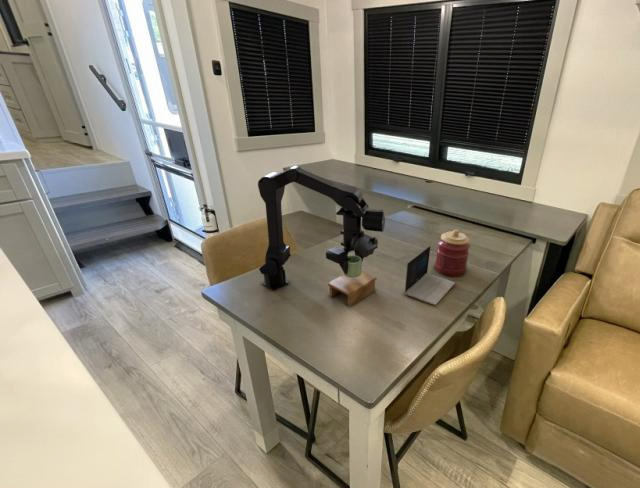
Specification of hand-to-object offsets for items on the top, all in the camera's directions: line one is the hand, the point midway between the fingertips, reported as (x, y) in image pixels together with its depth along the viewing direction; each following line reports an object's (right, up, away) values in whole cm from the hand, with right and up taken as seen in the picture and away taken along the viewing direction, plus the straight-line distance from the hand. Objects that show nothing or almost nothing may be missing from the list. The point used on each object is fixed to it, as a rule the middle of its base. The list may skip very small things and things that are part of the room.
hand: (352, 270), depth 113 cm
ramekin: (0, -1, +1) cm, 1 cm away
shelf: (0, -8, +5) cm, 9 cm away
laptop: (+28, -7, +10) cm, 31 cm away
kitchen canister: (+37, 0, +25) cm, 45 cm away
